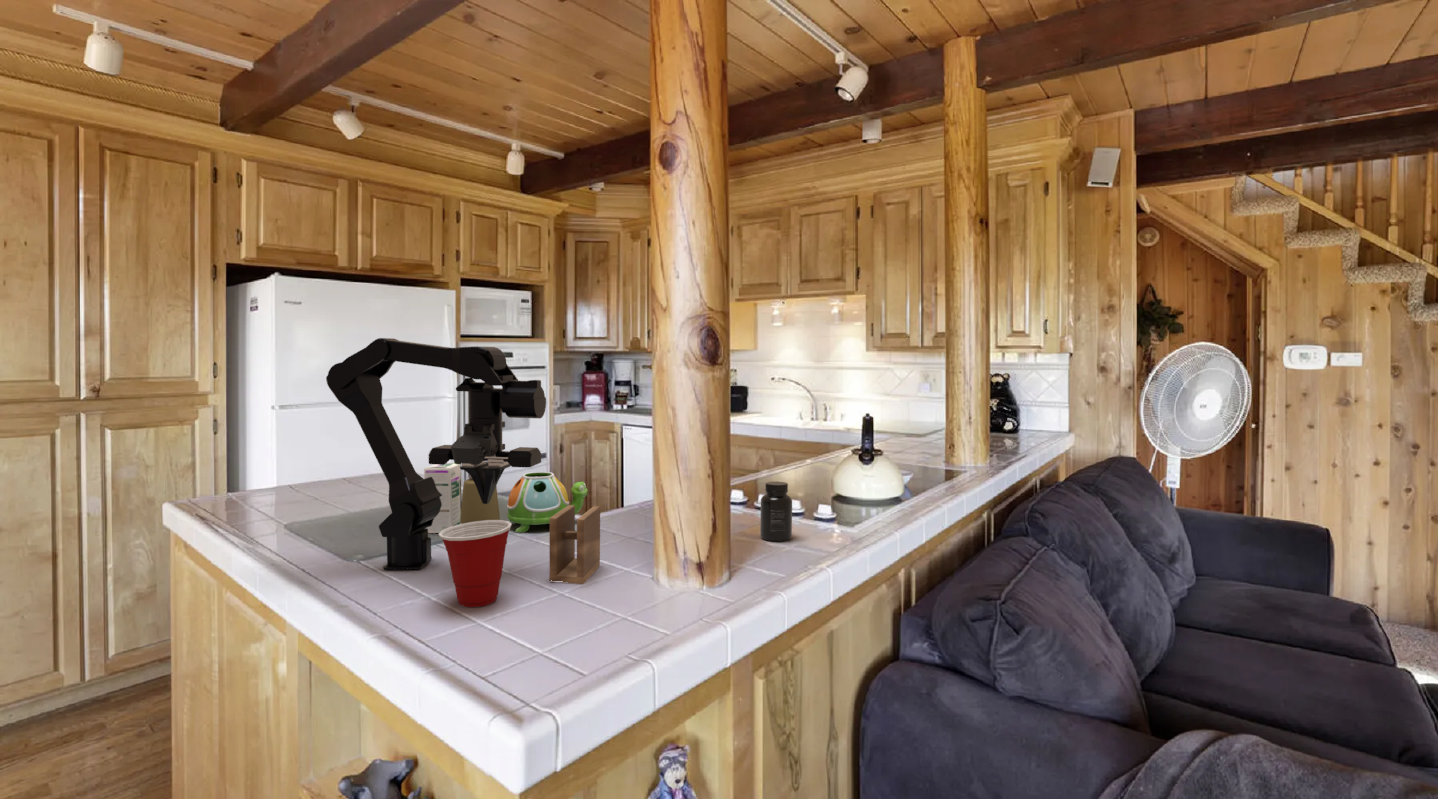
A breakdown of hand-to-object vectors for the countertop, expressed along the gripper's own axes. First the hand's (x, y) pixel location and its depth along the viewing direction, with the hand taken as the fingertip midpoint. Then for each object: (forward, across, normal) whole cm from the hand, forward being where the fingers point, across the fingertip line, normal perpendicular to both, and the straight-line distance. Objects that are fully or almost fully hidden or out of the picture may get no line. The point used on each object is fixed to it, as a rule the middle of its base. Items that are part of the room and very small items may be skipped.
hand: (486, 503), depth 121 cm
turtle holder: (+12, -1, +31) cm, 34 cm away
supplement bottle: (+12, +52, +29) cm, 61 cm away
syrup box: (+12, -20, +23) cm, 33 cm away
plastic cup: (+12, +5, -15) cm, 20 cm away
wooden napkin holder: (+12, +17, 0) cm, 21 cm away
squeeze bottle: (+12, -11, +20) cm, 26 cm away
